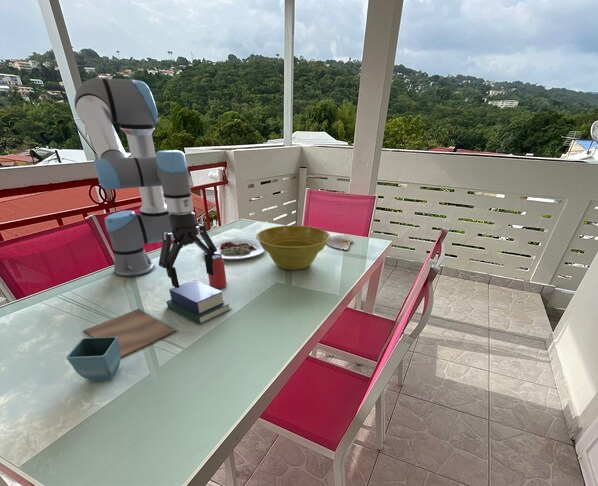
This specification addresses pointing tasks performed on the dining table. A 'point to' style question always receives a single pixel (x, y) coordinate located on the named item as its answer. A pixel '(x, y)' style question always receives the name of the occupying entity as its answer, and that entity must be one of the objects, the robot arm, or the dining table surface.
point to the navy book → (196, 296)
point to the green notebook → (201, 317)
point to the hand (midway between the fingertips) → (193, 280)
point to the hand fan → (339, 242)
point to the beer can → (218, 272)
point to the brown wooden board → (132, 331)
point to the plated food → (238, 248)
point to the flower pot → (96, 358)
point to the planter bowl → (293, 245)
